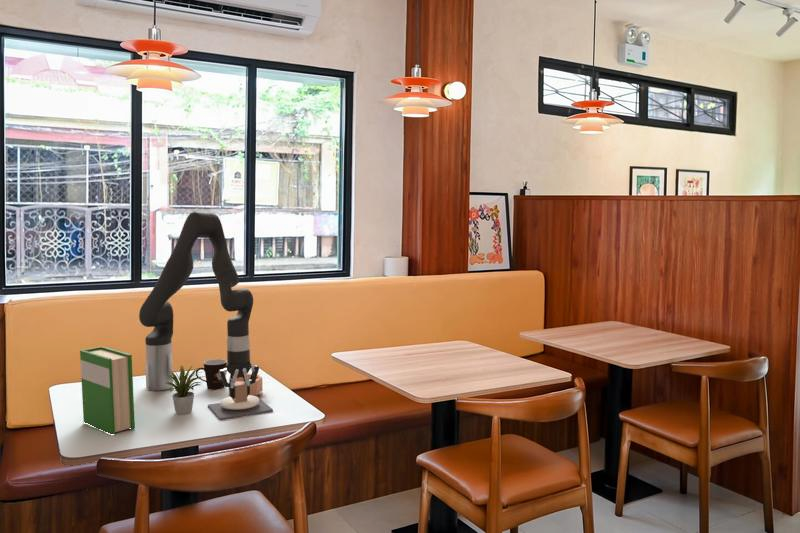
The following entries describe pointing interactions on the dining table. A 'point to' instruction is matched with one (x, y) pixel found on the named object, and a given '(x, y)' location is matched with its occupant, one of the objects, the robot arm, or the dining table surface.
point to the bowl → (253, 385)
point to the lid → (240, 398)
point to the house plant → (183, 390)
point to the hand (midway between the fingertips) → (239, 396)
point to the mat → (239, 411)
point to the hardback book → (107, 389)
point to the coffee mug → (213, 373)
